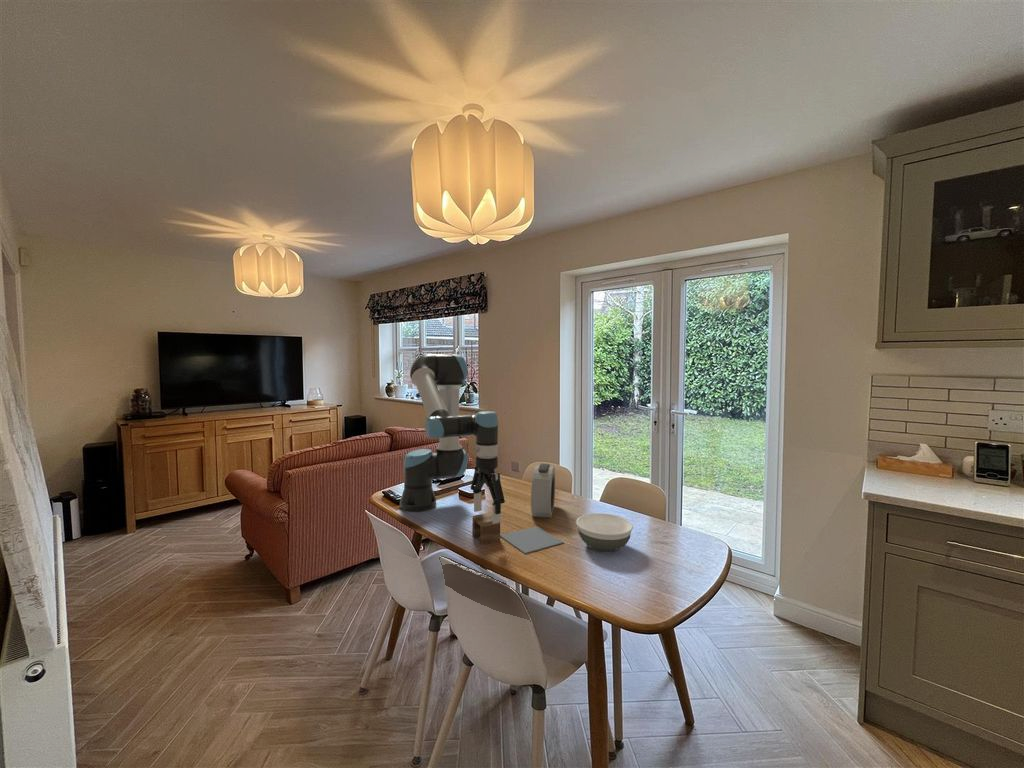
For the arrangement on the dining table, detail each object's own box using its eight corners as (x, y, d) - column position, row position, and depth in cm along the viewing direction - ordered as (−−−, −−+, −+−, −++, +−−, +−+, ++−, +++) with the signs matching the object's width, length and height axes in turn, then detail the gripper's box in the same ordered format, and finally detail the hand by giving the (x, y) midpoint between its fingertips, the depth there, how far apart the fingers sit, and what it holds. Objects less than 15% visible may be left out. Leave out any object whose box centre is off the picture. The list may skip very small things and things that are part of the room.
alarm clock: (549, 522, 165) (550, 471, 164) (530, 520, 166) (531, 470, 165) (555, 504, 186) (555, 459, 184) (538, 502, 187) (538, 458, 186)
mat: (499, 536, 151) (499, 535, 151) (536, 527, 159) (536, 526, 159) (524, 554, 137) (524, 552, 137) (563, 543, 146) (563, 542, 146)
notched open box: (472, 536, 150) (472, 515, 150) (489, 532, 154) (489, 512, 154) (482, 544, 144) (482, 523, 144) (500, 540, 148) (500, 519, 147)
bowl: (622, 565, 131) (623, 539, 130) (566, 550, 141) (567, 525, 140) (639, 543, 147) (639, 520, 146) (588, 531, 156) (588, 509, 156)
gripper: (461, 451, 156) (461, 508, 157) (495, 464, 135) (495, 530, 136) (479, 449, 160) (479, 504, 161) (515, 461, 139) (515, 525, 140)
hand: (486, 516), depth 148 cm, fingers open, 13 cm apart
